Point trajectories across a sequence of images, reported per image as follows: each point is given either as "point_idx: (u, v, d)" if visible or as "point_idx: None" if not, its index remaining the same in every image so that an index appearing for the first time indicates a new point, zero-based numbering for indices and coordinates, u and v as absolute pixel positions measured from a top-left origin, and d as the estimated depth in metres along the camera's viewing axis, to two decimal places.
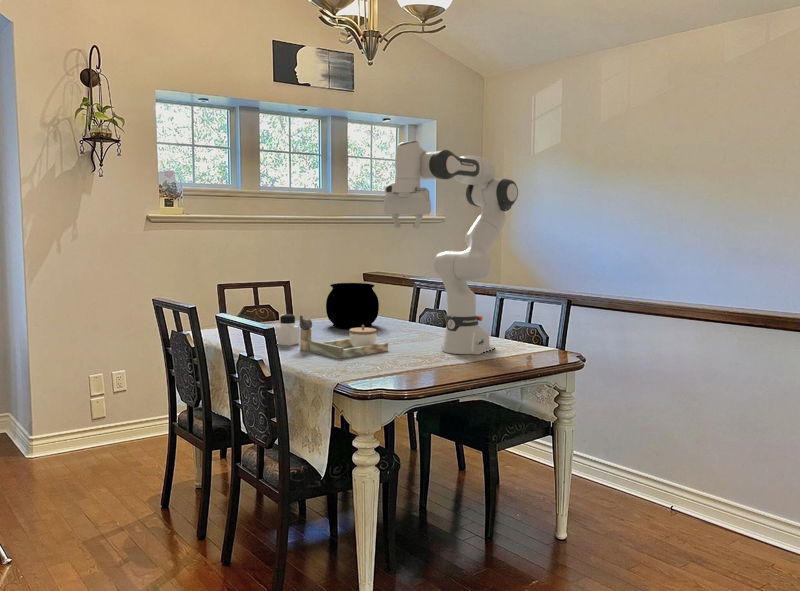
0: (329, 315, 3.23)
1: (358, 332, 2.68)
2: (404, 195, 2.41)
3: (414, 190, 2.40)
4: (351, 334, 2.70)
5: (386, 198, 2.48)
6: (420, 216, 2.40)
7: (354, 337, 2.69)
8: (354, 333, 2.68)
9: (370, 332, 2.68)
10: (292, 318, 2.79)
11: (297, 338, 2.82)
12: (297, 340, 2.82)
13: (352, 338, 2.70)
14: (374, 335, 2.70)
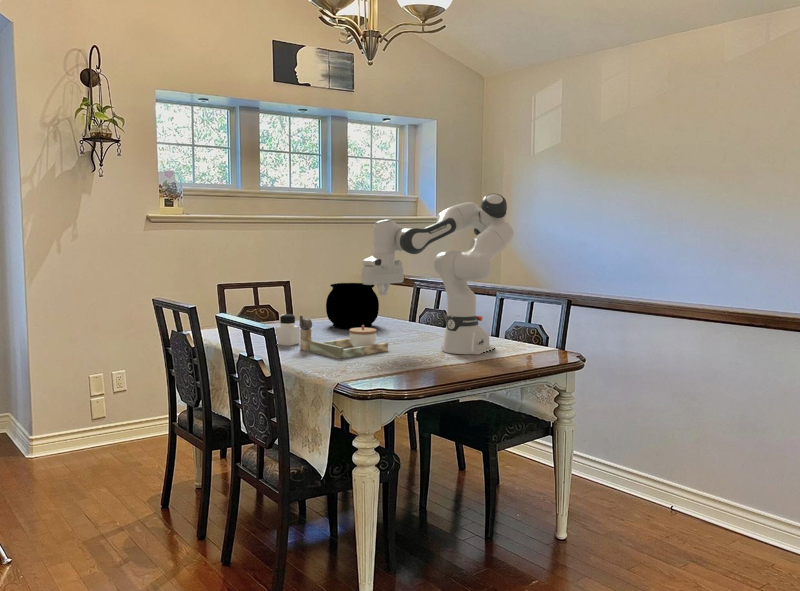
0: (329, 315, 3.23)
1: (358, 332, 2.68)
2: (390, 267, 2.76)
3: None
4: (351, 334, 2.70)
5: (372, 270, 2.70)
6: None
7: (354, 337, 2.69)
8: (354, 333, 2.68)
9: (370, 332, 2.68)
10: (292, 318, 2.79)
11: (297, 338, 2.82)
12: (297, 340, 2.82)
13: (352, 338, 2.70)
14: (374, 335, 2.70)
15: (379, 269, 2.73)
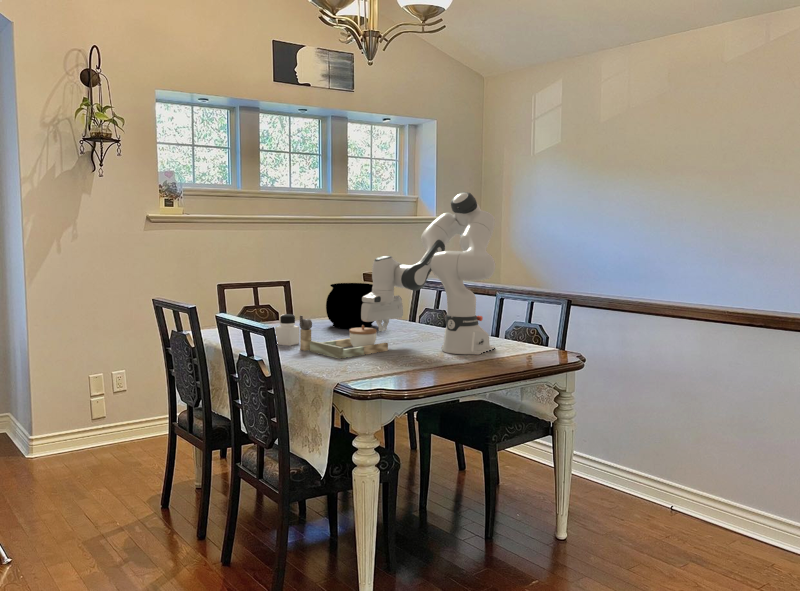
0: (329, 315, 3.23)
1: (358, 332, 2.68)
2: (390, 303, 2.78)
3: None
4: (351, 334, 2.70)
5: (371, 307, 2.72)
6: None
7: (354, 337, 2.69)
8: (354, 333, 2.68)
9: (370, 332, 2.68)
10: (292, 318, 2.79)
11: (297, 338, 2.82)
12: (297, 340, 2.82)
13: (352, 338, 2.70)
14: (374, 335, 2.70)
15: (378, 306, 2.75)
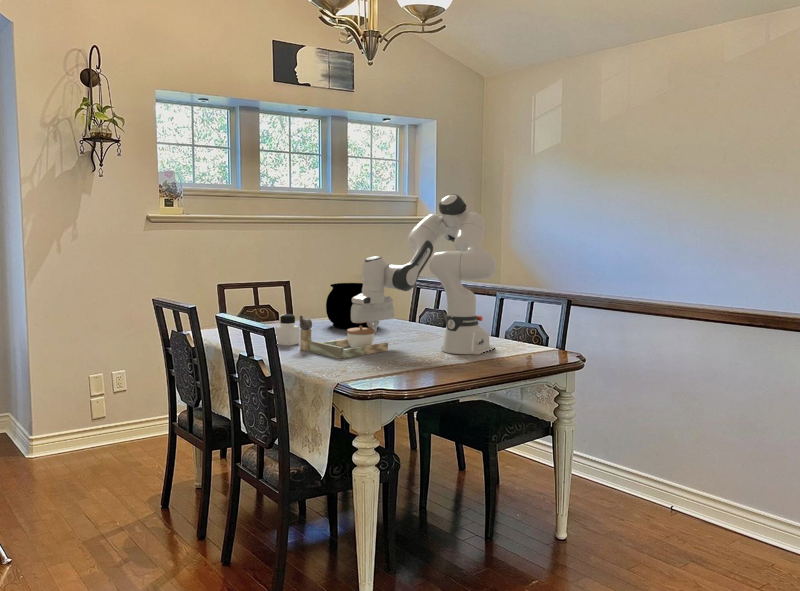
0: (329, 315, 3.23)
1: (356, 332, 2.67)
2: (380, 304, 2.75)
3: None
4: (349, 334, 2.69)
5: (361, 309, 2.68)
6: None
7: (352, 337, 2.68)
8: (352, 333, 2.68)
9: (368, 332, 2.68)
10: (292, 318, 2.79)
11: (297, 338, 2.82)
12: (297, 340, 2.82)
13: (350, 338, 2.69)
14: (372, 335, 2.70)
15: (368, 307, 2.71)
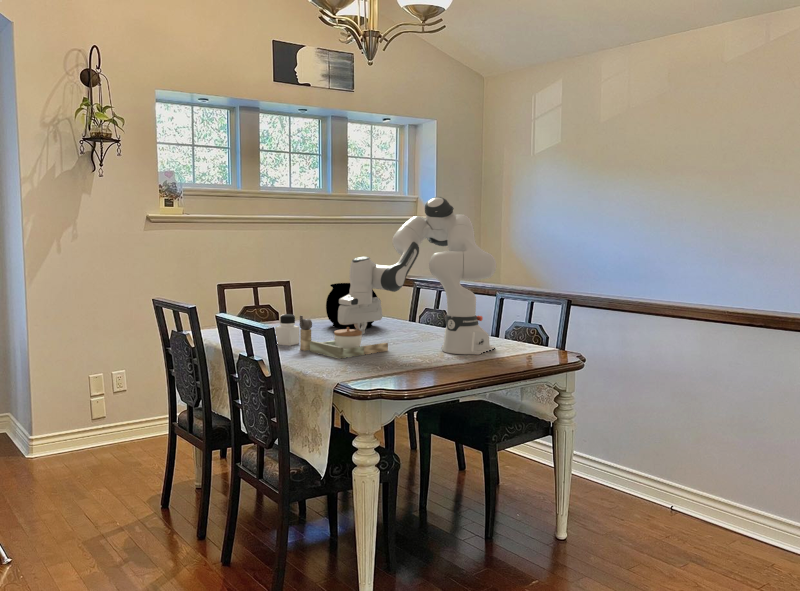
0: (329, 315, 3.23)
1: (343, 334, 2.62)
2: (368, 306, 2.70)
3: None
4: (336, 336, 2.65)
5: (348, 310, 2.64)
6: None
7: (339, 339, 2.64)
8: (339, 335, 2.63)
9: (355, 334, 2.63)
10: (292, 318, 2.79)
11: (297, 338, 2.82)
12: (297, 340, 2.82)
13: (337, 340, 2.64)
14: (359, 337, 2.65)
15: (356, 308, 2.67)
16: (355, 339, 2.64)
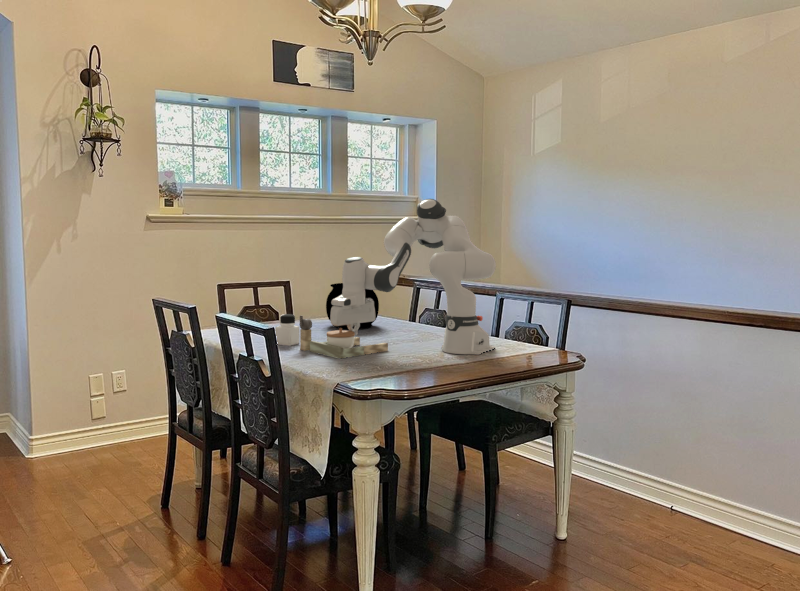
0: (329, 315, 3.23)
1: (335, 335, 2.60)
2: (361, 306, 2.67)
3: None
4: (328, 337, 2.62)
5: (341, 311, 2.61)
6: None
7: (331, 340, 2.61)
8: (331, 336, 2.60)
9: (348, 335, 2.60)
10: (292, 318, 2.79)
11: (297, 338, 2.82)
12: (297, 340, 2.82)
13: (329, 341, 2.62)
14: (352, 338, 2.62)
15: (349, 309, 2.64)
16: (348, 340, 2.61)
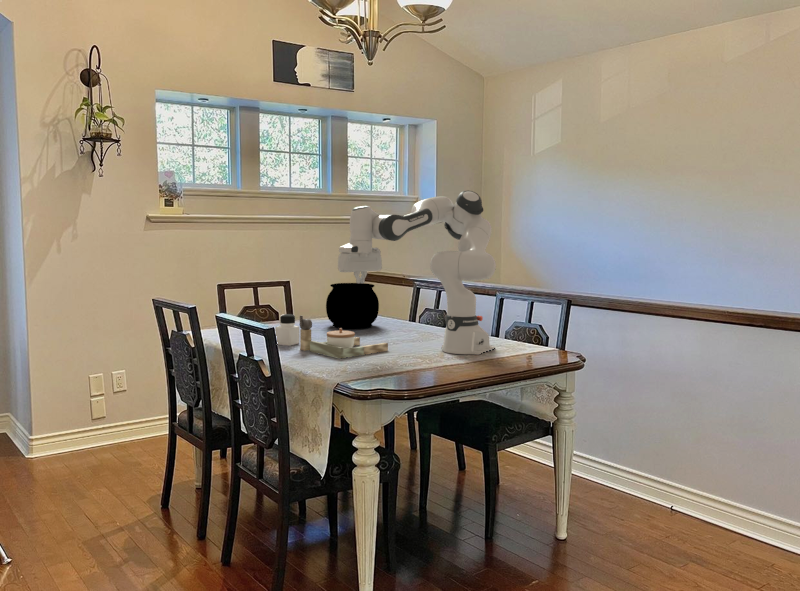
0: (329, 315, 3.23)
1: (335, 335, 2.60)
2: (368, 255, 2.71)
3: None
4: (328, 337, 2.62)
5: (348, 257, 2.65)
6: None
7: (331, 340, 2.61)
8: (331, 336, 2.60)
9: (348, 335, 2.60)
10: (292, 318, 2.79)
11: (297, 338, 2.82)
12: (297, 340, 2.82)
13: (329, 341, 2.62)
14: (352, 338, 2.62)
15: (356, 256, 2.68)
16: (348, 340, 2.61)
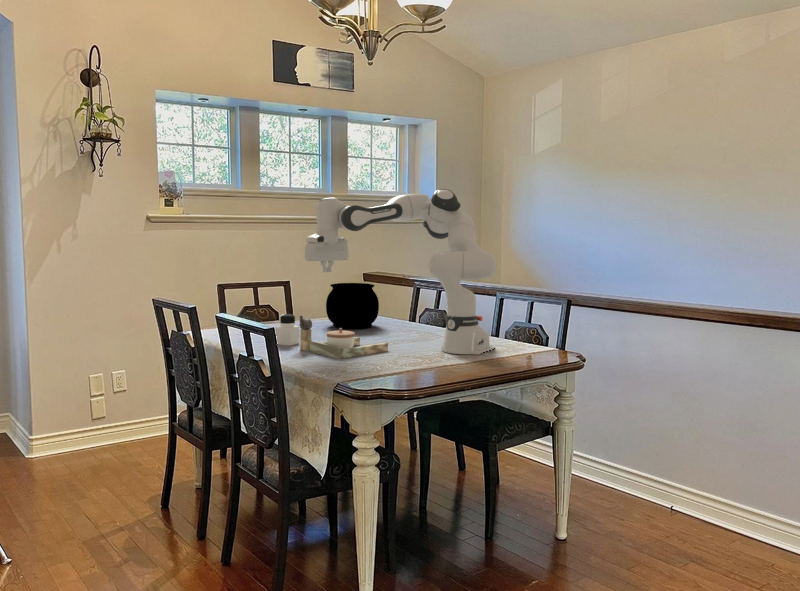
0: (329, 315, 3.23)
1: (335, 335, 2.60)
2: (334, 244, 2.81)
3: None
4: (328, 337, 2.62)
5: (314, 247, 2.75)
6: None
7: (331, 340, 2.61)
8: (331, 336, 2.60)
9: (348, 335, 2.60)
10: (292, 318, 2.79)
11: (297, 338, 2.82)
12: (297, 340, 2.82)
13: (329, 341, 2.62)
14: (352, 338, 2.62)
15: (322, 246, 2.78)
16: (348, 340, 2.61)
